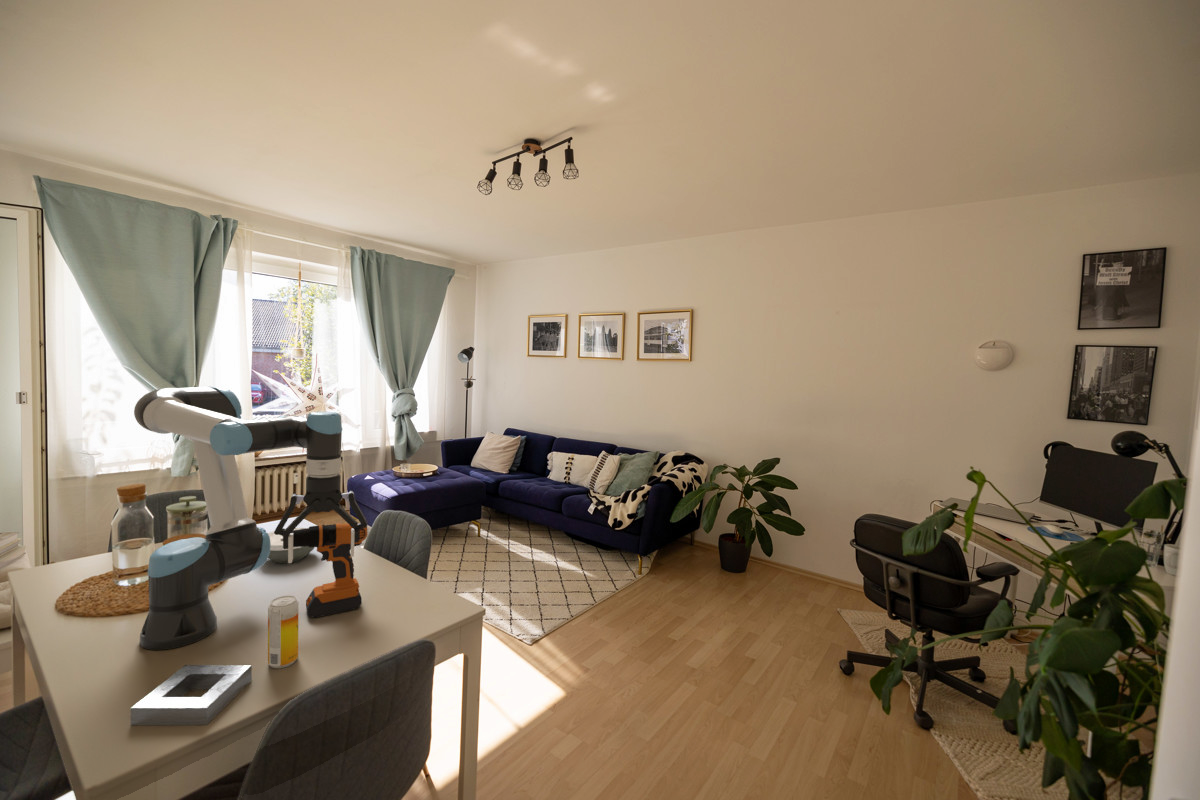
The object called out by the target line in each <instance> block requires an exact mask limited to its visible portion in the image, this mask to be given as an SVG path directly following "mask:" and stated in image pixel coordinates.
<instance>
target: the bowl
mask: <svg viewBox="0 0 1200 800" xmlns="http://www.w3.org/2000/svg"><path fill="white" fill-rule="evenodd" d="M305 528H306V527H296V528H295V529H294V530H300V529H305ZM274 531H275V530H274ZM274 531H269V532H267V533H268V535H269V537H270V543H271V548H270V554H269V557H268V558H267V560H271V561H274V562H276V563H277V564H279V563H280V564H289V563H288V549H284V548H283V541H281V539H282V538H283V536H282V535H275V534H274ZM314 549H315V547H309V546H305V547H293V560H292V563H293V562H298V561H300V560H301V559H303V558H304V557H305V556H307V555H309V554H310V553H311V552H313V550H314Z"/></svg>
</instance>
